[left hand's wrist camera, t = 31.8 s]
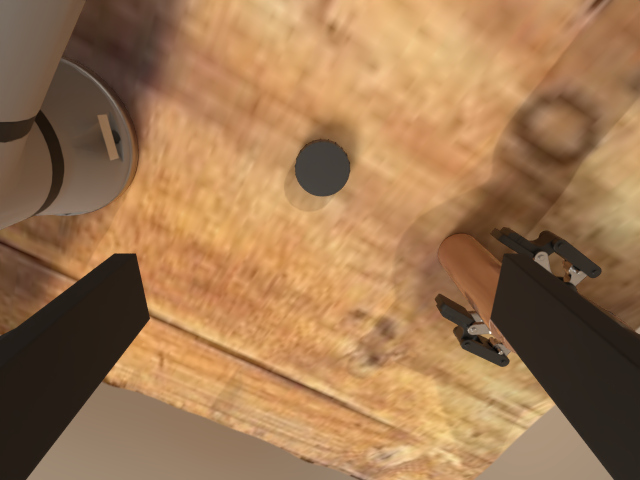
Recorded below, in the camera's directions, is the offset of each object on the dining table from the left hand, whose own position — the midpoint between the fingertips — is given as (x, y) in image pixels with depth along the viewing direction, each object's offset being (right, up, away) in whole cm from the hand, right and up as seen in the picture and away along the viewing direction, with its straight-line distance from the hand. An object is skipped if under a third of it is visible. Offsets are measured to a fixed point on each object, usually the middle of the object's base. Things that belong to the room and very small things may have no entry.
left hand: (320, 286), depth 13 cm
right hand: (+14, -1, +22) cm, 26 cm away
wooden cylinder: (+16, 0, +28) cm, 32 cm away
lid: (0, +9, +22) cm, 24 cm away
